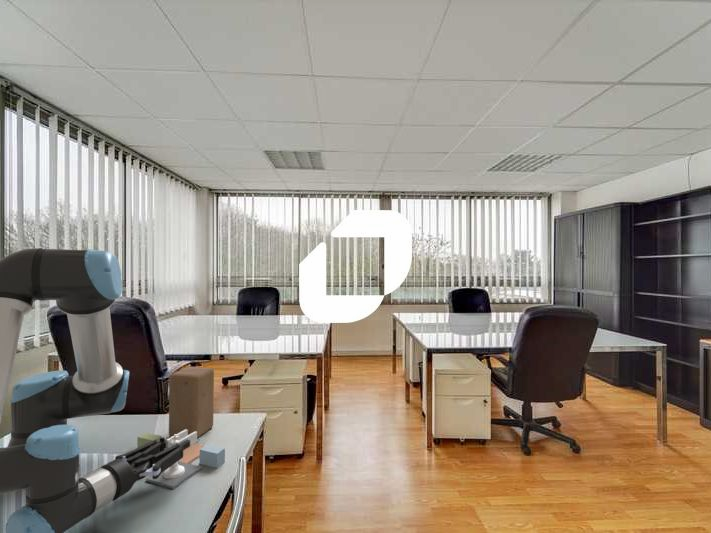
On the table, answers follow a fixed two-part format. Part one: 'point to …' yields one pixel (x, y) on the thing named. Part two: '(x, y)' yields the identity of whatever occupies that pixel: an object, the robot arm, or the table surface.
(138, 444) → the brick olive
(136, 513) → the table surface
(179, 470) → the chess piece
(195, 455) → the pad terracotta
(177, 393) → the wooden block
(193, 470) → the pad slate
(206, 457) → the brick blue
